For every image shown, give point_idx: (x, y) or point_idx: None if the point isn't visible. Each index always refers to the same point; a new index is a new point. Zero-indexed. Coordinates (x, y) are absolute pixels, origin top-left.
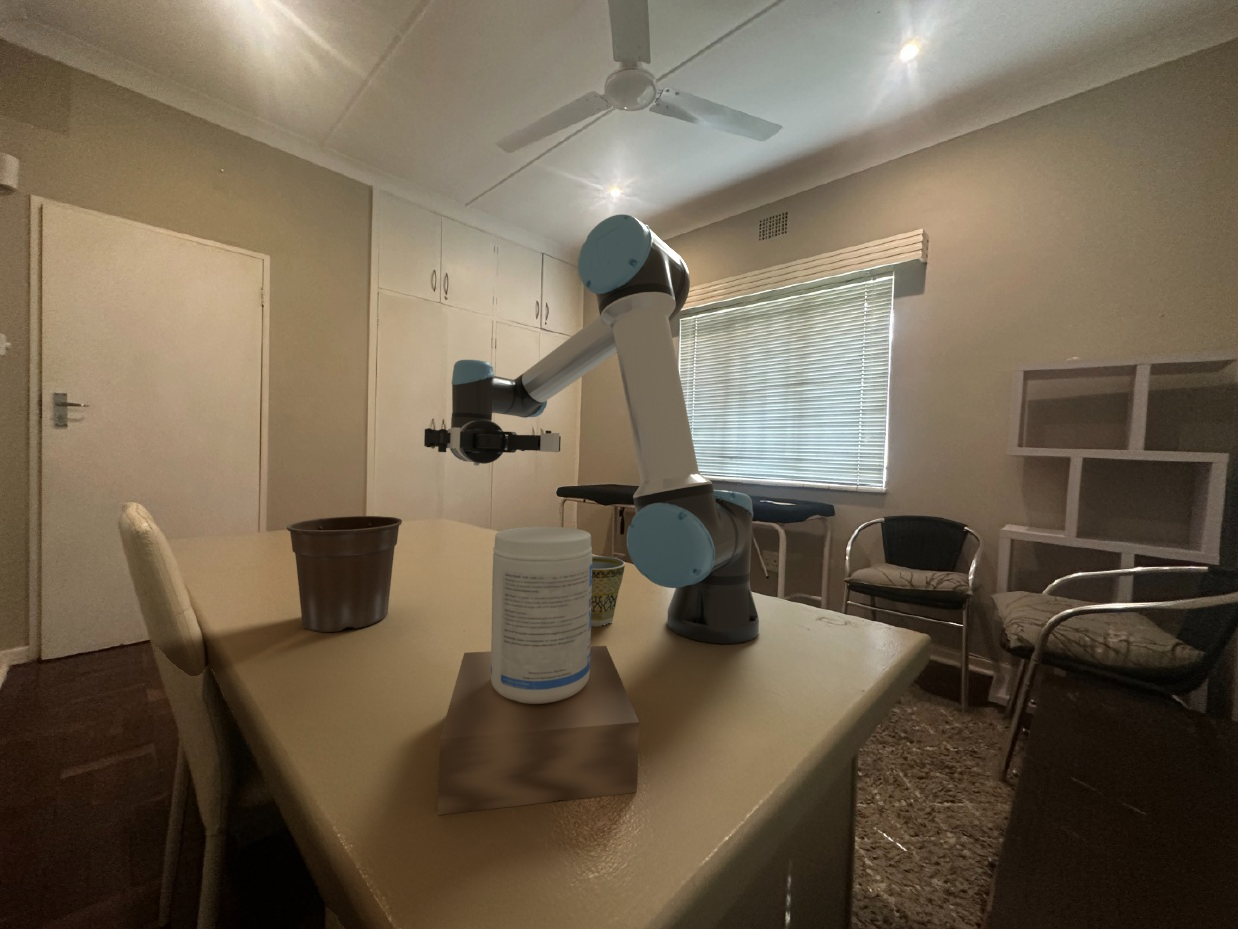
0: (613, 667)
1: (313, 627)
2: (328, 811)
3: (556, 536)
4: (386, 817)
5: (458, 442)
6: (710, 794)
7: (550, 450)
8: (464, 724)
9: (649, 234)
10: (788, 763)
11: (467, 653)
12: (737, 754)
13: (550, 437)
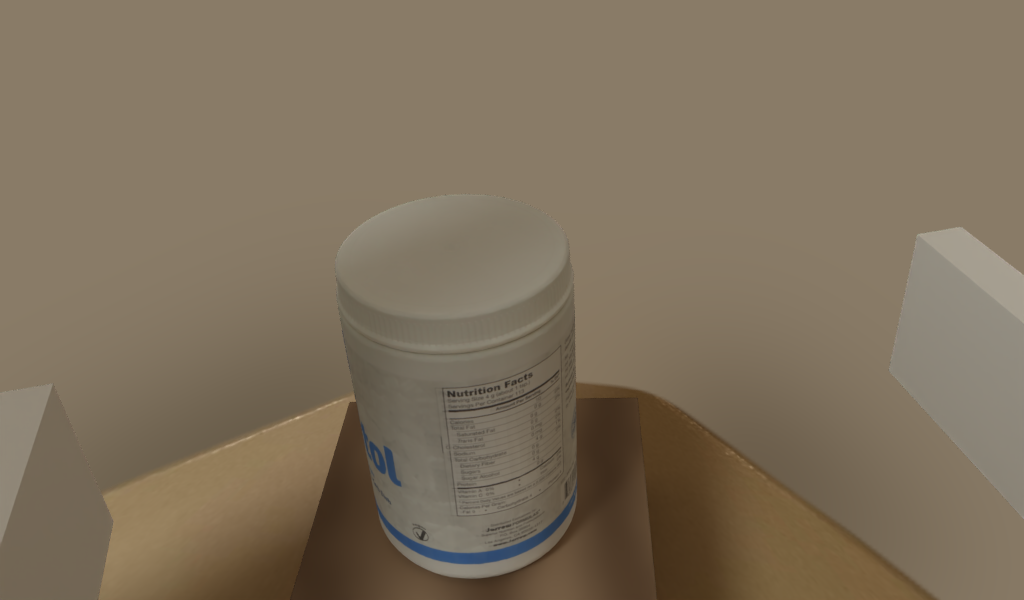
0: (311, 546)
1: None
2: (788, 499)
3: (430, 223)
4: (703, 482)
5: (904, 332)
6: (270, 466)
7: (94, 590)
8: (608, 418)
9: None
10: (111, 500)
11: None
12: (167, 525)
13: (41, 507)
